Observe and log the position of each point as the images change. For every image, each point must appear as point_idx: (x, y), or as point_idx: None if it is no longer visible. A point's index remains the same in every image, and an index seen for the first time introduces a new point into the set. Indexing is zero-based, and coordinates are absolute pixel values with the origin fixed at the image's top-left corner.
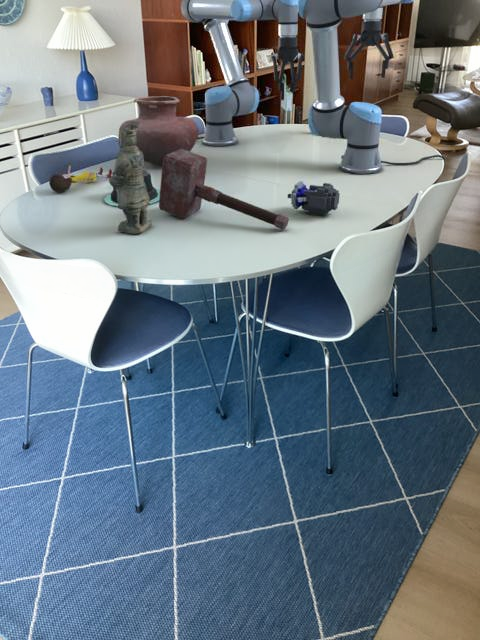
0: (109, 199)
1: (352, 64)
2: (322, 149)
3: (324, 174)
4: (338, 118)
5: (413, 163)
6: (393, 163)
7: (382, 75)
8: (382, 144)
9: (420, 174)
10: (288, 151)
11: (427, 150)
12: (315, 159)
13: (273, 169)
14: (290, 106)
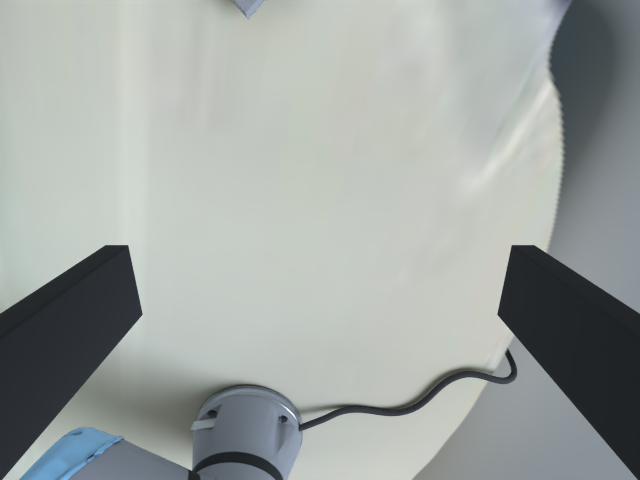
0: None
1: (1, 454)
2: (158, 209)
3: (153, 451)
4: None
5: (400, 414)
6: (345, 413)
7: (514, 302)
8: (408, 165)
9: (381, 474)
10: (28, 219)
11: None
12: (131, 329)
13: None
14: None
